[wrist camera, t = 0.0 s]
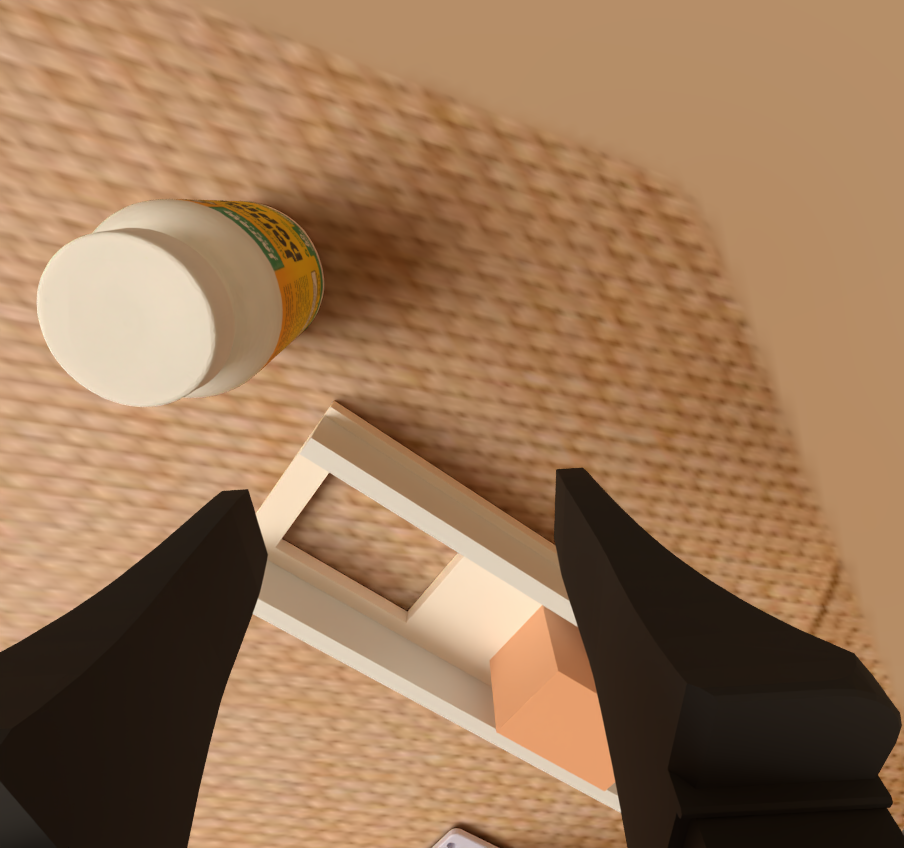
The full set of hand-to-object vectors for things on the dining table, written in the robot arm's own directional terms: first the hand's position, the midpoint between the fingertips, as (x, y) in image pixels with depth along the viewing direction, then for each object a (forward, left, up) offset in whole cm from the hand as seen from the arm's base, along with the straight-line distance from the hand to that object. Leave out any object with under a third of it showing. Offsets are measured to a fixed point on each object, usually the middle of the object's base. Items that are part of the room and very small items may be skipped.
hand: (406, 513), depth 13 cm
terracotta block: (-7, -13, -10) cm, 18 cm away
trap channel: (-7, -10, -11) cm, 16 cm away
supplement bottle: (0, +8, -11) cm, 13 cm away
